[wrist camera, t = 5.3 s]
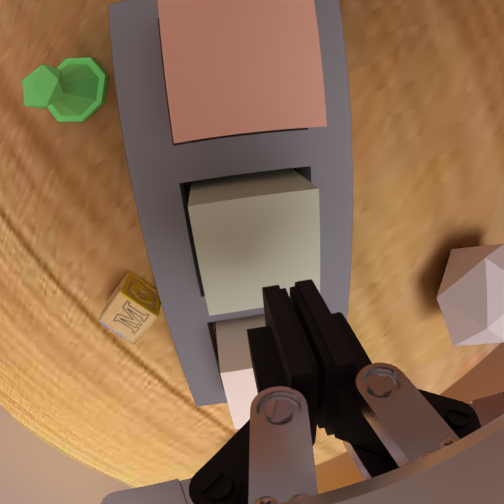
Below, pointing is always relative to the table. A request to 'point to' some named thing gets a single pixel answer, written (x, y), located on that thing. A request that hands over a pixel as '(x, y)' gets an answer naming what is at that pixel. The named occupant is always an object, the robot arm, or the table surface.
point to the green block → (254, 236)
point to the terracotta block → (241, 66)
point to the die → (474, 295)
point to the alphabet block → (131, 308)
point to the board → (218, 165)
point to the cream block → (237, 365)
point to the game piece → (67, 89)
